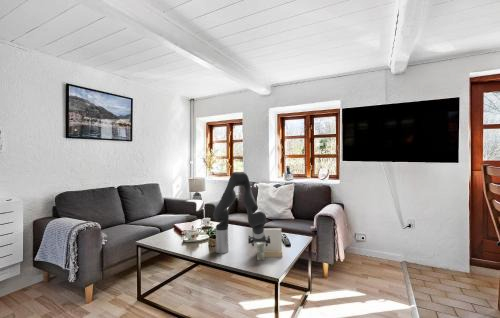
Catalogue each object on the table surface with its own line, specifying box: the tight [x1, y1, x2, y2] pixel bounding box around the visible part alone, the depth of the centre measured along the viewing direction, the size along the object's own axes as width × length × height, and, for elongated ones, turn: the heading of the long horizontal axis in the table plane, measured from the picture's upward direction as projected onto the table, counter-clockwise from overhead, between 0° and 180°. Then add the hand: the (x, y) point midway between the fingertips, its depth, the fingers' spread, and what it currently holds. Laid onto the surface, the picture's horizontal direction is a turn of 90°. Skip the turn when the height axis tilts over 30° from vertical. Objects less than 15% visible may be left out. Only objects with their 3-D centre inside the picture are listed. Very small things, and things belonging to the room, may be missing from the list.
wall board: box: [256, 228, 283, 258], centre depth 183 cm, size 18×8×18 cm, turn 85°
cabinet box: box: [256, 242, 266, 261], centre depth 175 cm, size 5×3×11 cm, turn 85°
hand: (259, 245), depth 168 cm, fingers open, 8 cm apart
